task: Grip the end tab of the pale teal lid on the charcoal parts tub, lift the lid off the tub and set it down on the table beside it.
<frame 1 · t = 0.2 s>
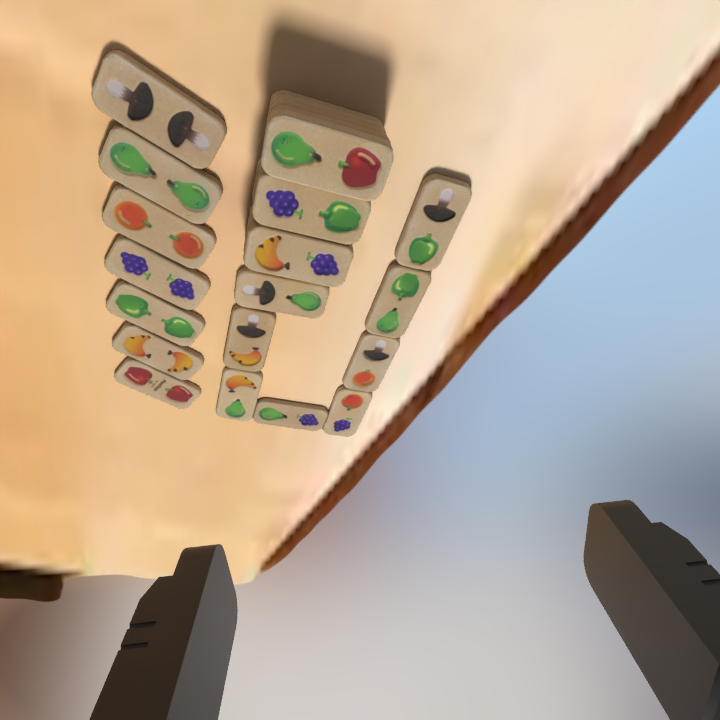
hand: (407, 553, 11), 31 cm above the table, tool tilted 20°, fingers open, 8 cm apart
pile of dominoes: (267, 294, 45), on the table
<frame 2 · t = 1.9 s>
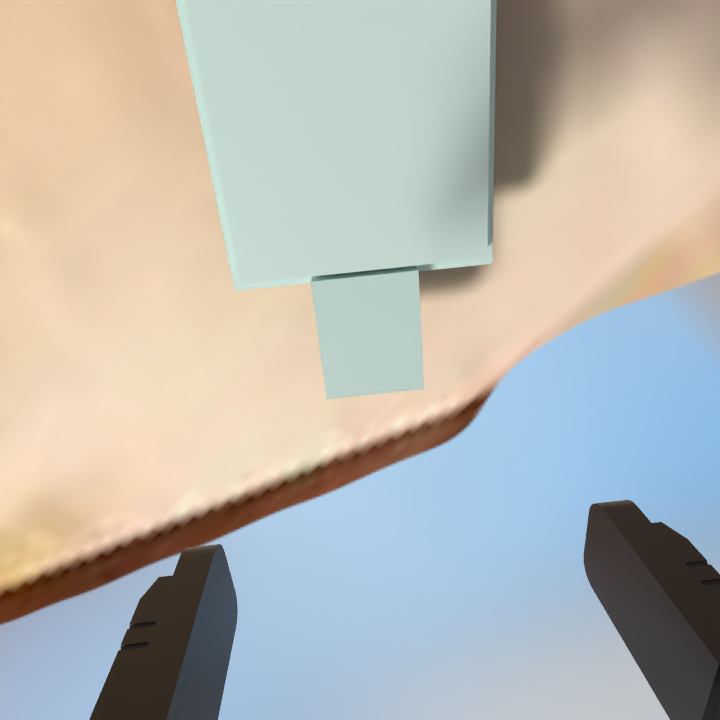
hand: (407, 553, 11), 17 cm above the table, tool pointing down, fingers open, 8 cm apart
lid: (346, 88, 17), point 5 cm above the table, touching tub
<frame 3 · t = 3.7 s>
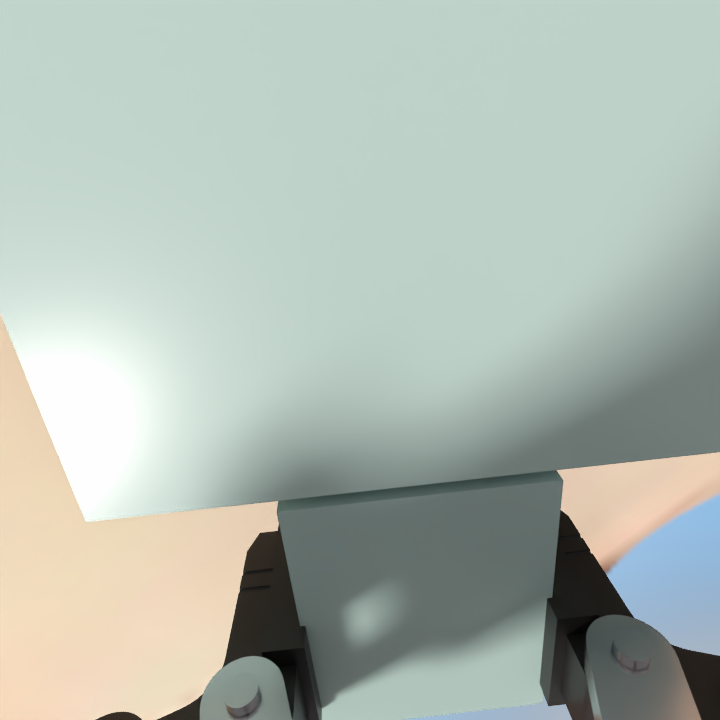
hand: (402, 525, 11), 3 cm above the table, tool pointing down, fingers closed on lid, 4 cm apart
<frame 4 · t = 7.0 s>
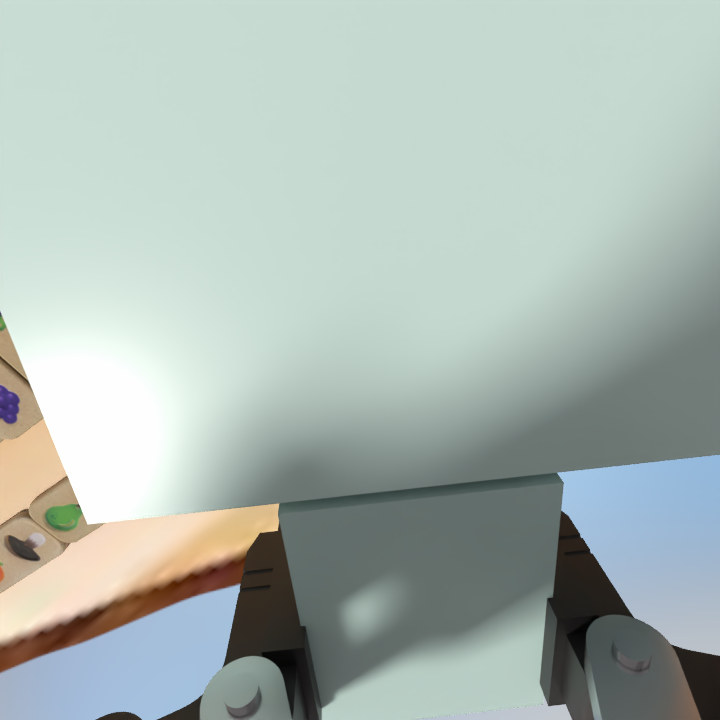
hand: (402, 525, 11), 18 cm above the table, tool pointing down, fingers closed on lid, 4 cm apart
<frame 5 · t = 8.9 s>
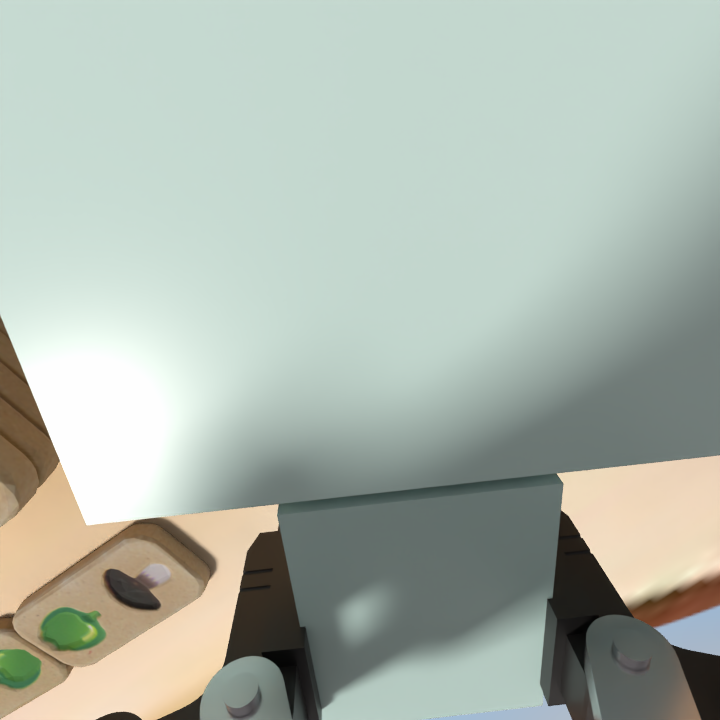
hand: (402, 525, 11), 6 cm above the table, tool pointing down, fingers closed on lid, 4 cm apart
when the fingers open (1 cm above the table, at t = 10.2 s): lid drops 2 cm, point 1 cm above the table.
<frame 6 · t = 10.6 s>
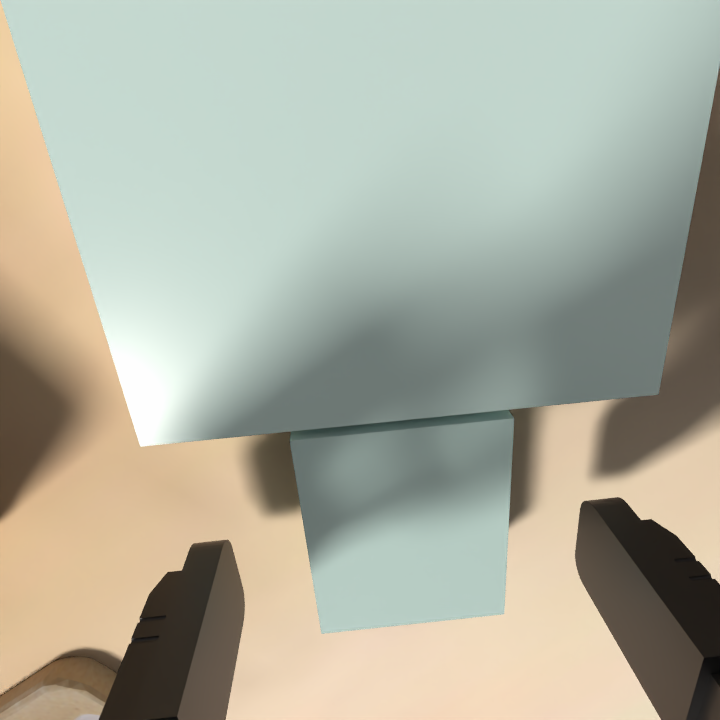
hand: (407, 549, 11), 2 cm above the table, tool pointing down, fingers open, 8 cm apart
lid: (373, 26, 7), point 1 cm above the table
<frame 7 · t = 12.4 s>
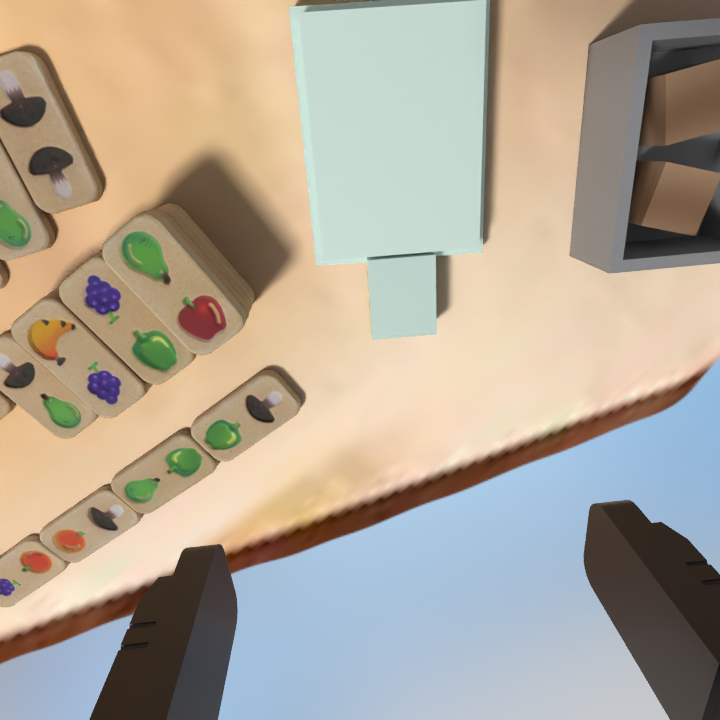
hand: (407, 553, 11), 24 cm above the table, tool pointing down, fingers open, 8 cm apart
pile of dominoes: (23, 379, 35), on the table
walnut block B: (649, 195, 31), point 1 cm above the table, touching tub
lid: (395, 141, 28), point 1 cm above the table
tub: (650, 152, 30), on the table
walnut block A: (663, 106, 29), point 1 cm above the table, touching tub
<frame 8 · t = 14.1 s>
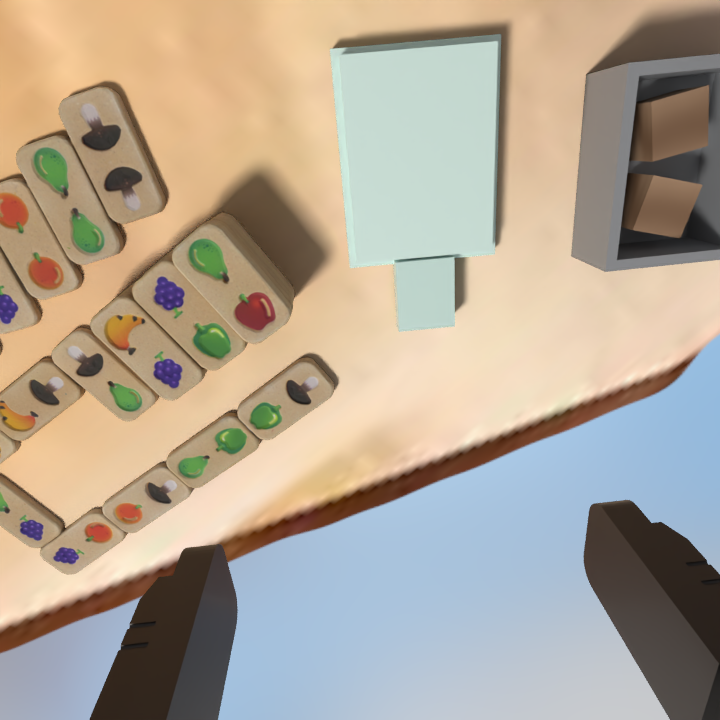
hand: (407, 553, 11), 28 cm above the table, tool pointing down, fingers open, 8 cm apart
pile of dominoes: (90, 369, 39), on the table
walnut block B: (640, 202, 35), point 1 cm above the table, touching tub
lid: (419, 160, 33), point 1 cm above the table
tub: (640, 165, 35), on the table
walnut block A: (651, 126, 33), point 1 cm above the table, touching tub
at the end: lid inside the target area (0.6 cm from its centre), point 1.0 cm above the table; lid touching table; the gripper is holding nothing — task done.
